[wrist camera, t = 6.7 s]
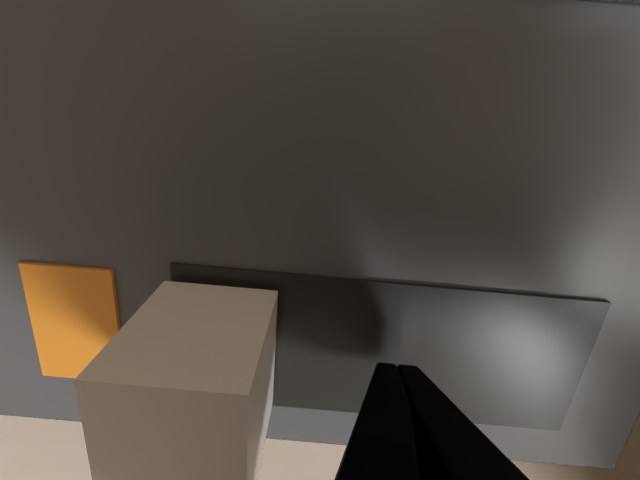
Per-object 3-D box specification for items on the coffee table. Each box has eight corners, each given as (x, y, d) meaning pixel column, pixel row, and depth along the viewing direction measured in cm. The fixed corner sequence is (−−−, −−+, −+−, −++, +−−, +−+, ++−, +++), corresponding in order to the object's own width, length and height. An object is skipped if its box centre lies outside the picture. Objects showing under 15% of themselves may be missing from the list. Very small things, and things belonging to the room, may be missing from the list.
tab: (272, 402, 9) (245, 538, 6) (172, 393, 9) (100, 526, 6) (278, 290, 8) (248, 395, 5) (163, 280, 8) (74, 379, 5)
